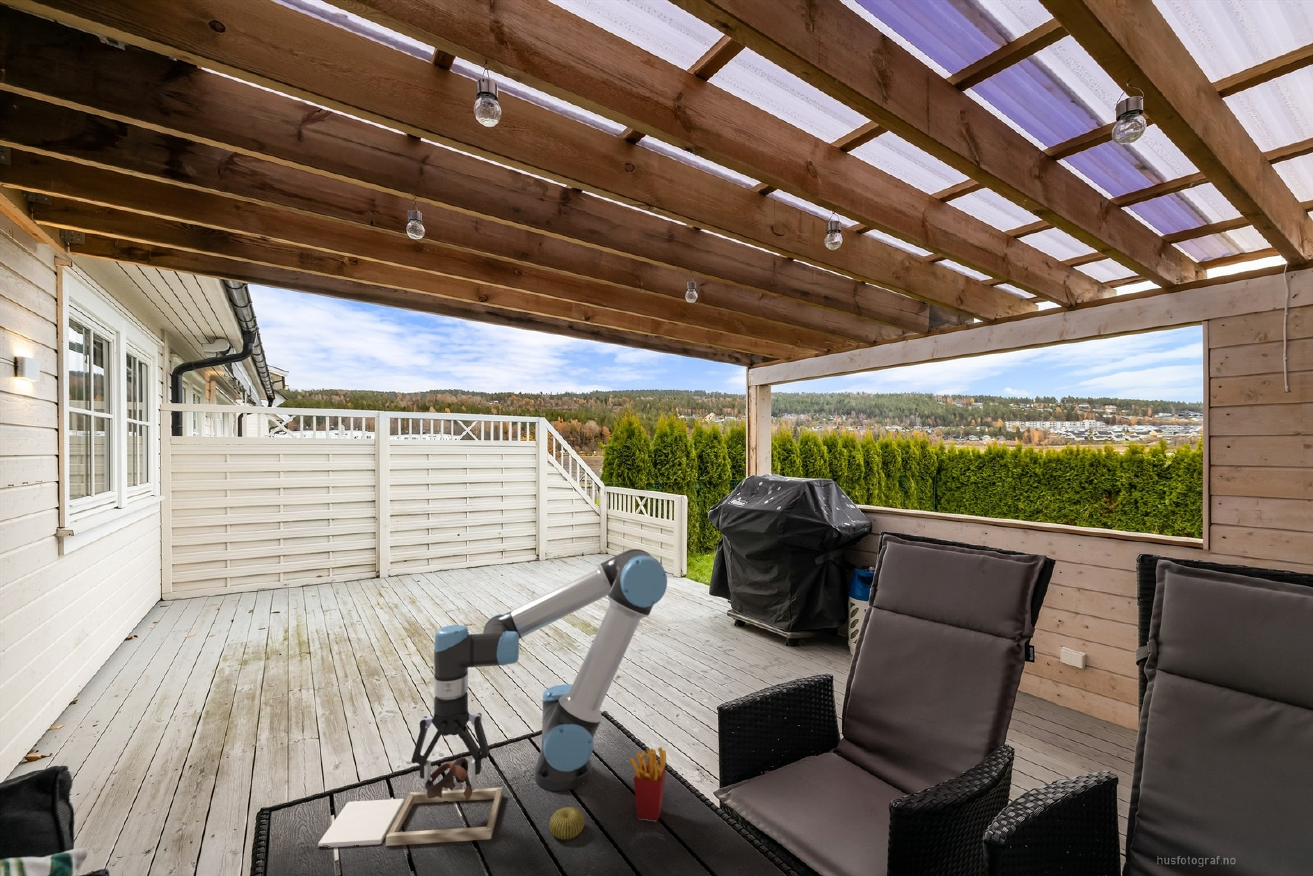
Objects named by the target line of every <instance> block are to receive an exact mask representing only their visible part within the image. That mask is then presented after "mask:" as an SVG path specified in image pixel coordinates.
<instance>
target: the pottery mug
mask: <svg viewBox="0 0 1313 876" xmlns="http://www.w3.org/2000/svg"><path fill="white" fill-rule="evenodd" d="M448 769H449V770H448ZM446 771H448V772H447V773H446V774H445V775H444V777H443V778H442V779H440V780H439V781H438V782H437V783H434V782H435V781H436V779H438V777H439V776H440V775H442V774H443V773H444V772H446ZM468 771H469V761H468V760H467V759H466V758H465V757H460V758H457V759H456V760H455V761H454V762H452V761H448V762H444V763H443V764H441V765H440V766H438V767H437V768H436V769H435V770H434V771H433V772H431V782H430V780H429V779H428V780H427V782H426V784H425V788H426V789H427V797H428V798H434V797H440V798H442V791H443V788H444V789H445V790H446V789H450V790H451V789H452V790H453V789H454V788H456V786H457V785H456V783H457V784H459V783H460V784H463V783H464V782H465V785H466V787H465V789H464V790H465V791H464V793H463V794H464V795H465V796H466V800H465V801H470V800H469V798H470V797H471V795H472V792H473V791H472V788H471V782H470V781H471V780H470V778H469V774H468V773H469V772H468ZM454 778H455V780H454ZM455 781H456V783H455Z"/></svg>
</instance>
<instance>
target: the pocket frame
mask: <svg viewBox="0 0 1313 876" xmlns="http://www.w3.org/2000/svg"><path fill="white" fill-rule="evenodd" d="M503 789H504V788H503V787H502V786H501V787H487V788H486V787H485V788H476V789H475V791H473V792H472V795H471V797H470V798H469V800H468V801H479V800H481V801H482V800H493V804H492V807H491V809H490V810H491V811H490V813H489V817H488V820H487V825H486V826H476V827H463V828H462V827H461V828H459V827H458V828H448V829H447V828H445V829H443V828H442V829H431V830H428V829H427V830H413V831H410V830H409V831H400V830H401V828H402V826H403V824H404V822H405V821H406V819H407V818H408V815H409V813H410V811H411V810H412V807H413V805H414V804H425V803H426V804H428V803H444V801H448V802H461V801H463V802H464V801H467V800H466V796H465V795H464V794H463V793H464V791H465V789H452V790H451V789H450V790H442V798H440V797H434V798H428V797H427V795H424V791H415V792H413V791H412V792H409V794H408V796H407V797H406V800H404V801H405V802H404V803H403V805H402V807H401V808H400V810H399V812H398V814H397V816H396V817H395V819H394V821H393V823H392V825H391V826H390V828H389V830H388V832H387V834H386V835H385V846H387V847H388V846H402V845H403V846H406V845H419V844H422V845H423V844H434V843H449V842H466V841H479V840H482V841H484V840H491V839H492V836H493V832H494V829H495V825H496V822H497V817H498V814H499V809H500V806H501V802H502V799H503V796H504V795H503V793H504V791H503Z"/></svg>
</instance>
